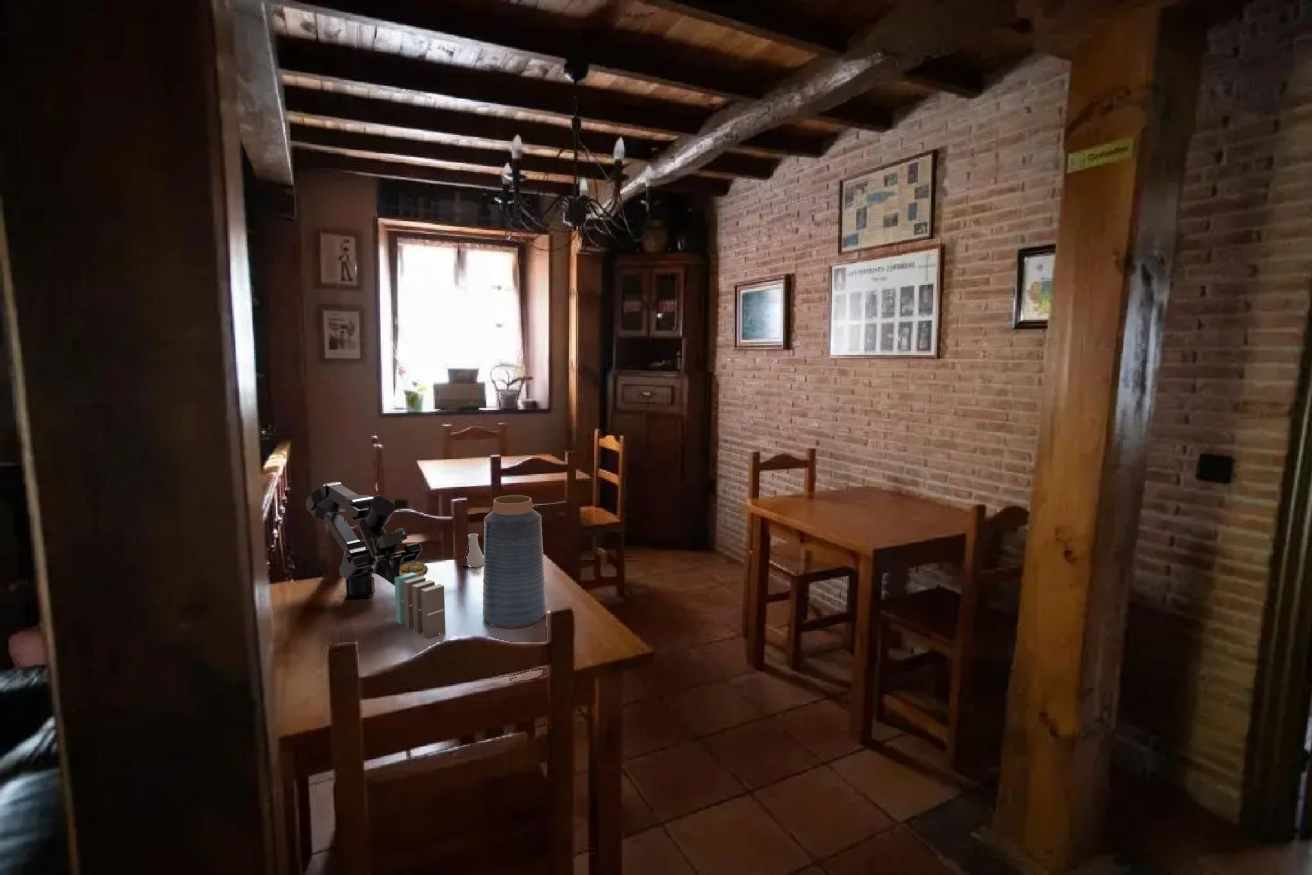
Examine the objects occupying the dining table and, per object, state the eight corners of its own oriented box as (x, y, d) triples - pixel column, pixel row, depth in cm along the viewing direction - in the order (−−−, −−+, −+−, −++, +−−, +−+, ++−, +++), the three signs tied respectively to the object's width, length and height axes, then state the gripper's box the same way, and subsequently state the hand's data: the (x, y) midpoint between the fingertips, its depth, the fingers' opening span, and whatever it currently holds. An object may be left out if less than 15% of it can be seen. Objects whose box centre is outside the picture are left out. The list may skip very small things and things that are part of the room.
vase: (479, 608, 177) (476, 494, 173) (539, 601, 183) (538, 490, 179) (486, 633, 162) (483, 509, 158) (551, 624, 168) (550, 504, 164)
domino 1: (404, 626, 165) (403, 581, 164) (423, 620, 169) (421, 575, 168) (409, 628, 164) (407, 583, 162) (427, 622, 168) (425, 577, 166)
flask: (489, 562, 215) (489, 533, 214) (476, 569, 208) (476, 539, 207) (471, 560, 217) (470, 530, 216) (457, 566, 211) (456, 536, 209)
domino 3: (422, 636, 160) (420, 589, 158) (441, 629, 164) (439, 583, 162) (427, 638, 159) (425, 591, 157) (445, 632, 162) (444, 585, 161)
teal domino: (396, 622, 168) (394, 577, 166) (414, 616, 172) (412, 572, 170) (400, 624, 167) (398, 579, 165) (418, 618, 170) (416, 574, 169)
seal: (396, 570, 211) (397, 585, 197) (394, 556, 210) (394, 570, 196) (427, 563, 214) (429, 578, 200) (424, 549, 213) (427, 563, 200)
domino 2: (413, 631, 163) (411, 585, 161) (431, 625, 166) (430, 579, 165) (418, 633, 161) (416, 587, 160) (436, 627, 165) (434, 581, 164)
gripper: (349, 527, 165) (373, 579, 159) (417, 513, 179) (441, 560, 173) (337, 551, 171) (359, 602, 165) (404, 536, 185) (426, 582, 179)
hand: (398, 585), depth 171 cm, fingers closed
